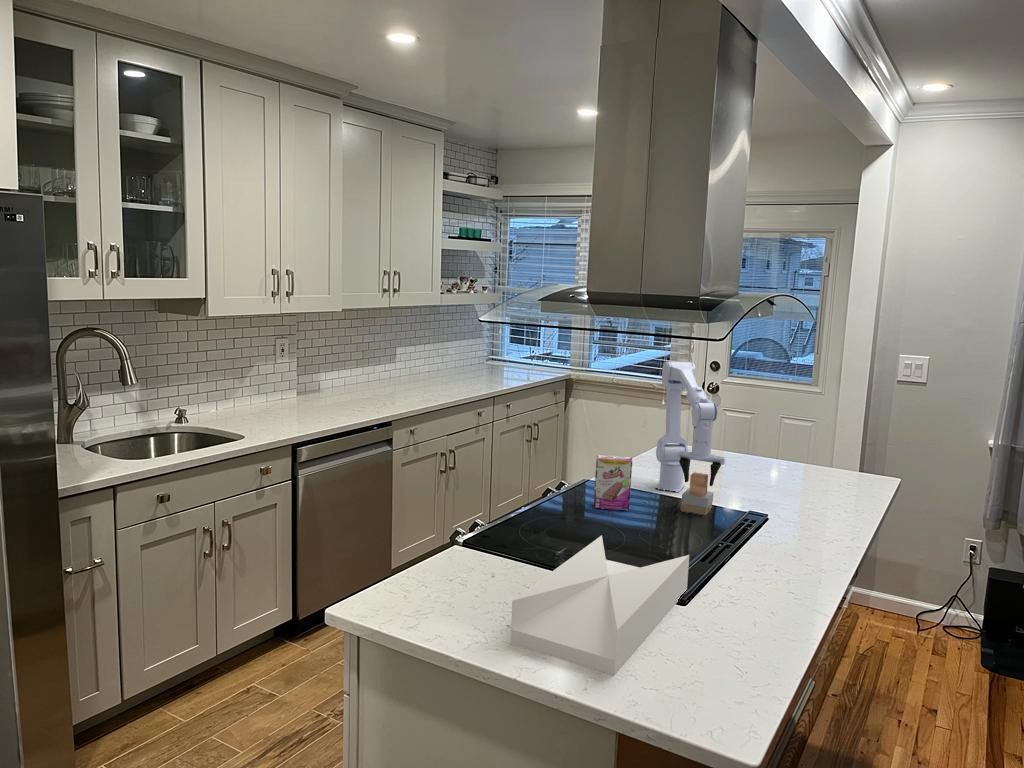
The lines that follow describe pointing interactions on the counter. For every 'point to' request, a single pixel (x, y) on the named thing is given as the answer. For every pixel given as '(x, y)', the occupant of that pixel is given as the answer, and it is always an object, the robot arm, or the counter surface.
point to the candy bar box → (612, 482)
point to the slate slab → (697, 499)
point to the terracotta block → (698, 484)
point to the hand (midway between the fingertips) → (698, 483)
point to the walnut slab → (695, 509)
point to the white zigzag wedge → (596, 608)
